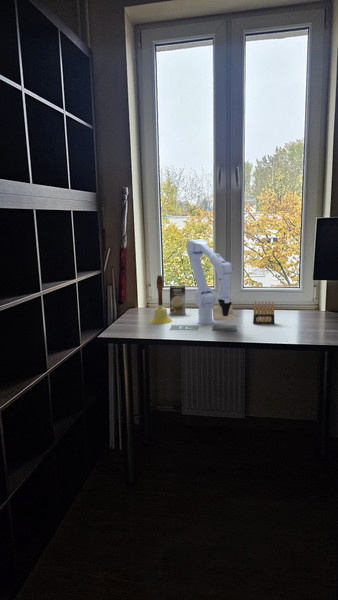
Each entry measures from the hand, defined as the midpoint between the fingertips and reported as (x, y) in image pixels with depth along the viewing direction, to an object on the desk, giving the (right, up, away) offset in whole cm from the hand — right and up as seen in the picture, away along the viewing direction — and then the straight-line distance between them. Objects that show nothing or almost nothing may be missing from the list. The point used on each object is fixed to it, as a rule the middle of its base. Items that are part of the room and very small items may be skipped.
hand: (224, 314), depth 204 cm
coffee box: (-22, -1, +37) cm, 43 cm away
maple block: (-1, -2, 0) cm, 2 cm away
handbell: (-32, -5, +19) cm, 37 cm away
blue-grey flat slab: (-20, -7, +4) cm, 21 cm away
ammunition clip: (+21, -5, +9) cm, 24 cm away
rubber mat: (0, -7, +1) cm, 7 cm away
